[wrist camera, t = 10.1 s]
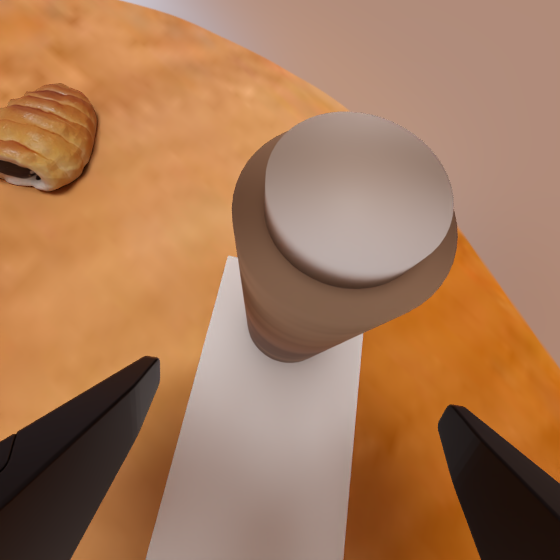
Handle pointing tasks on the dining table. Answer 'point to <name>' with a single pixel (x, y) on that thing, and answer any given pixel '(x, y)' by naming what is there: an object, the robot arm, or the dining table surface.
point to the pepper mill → (339, 232)
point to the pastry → (46, 137)
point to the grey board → (260, 449)
